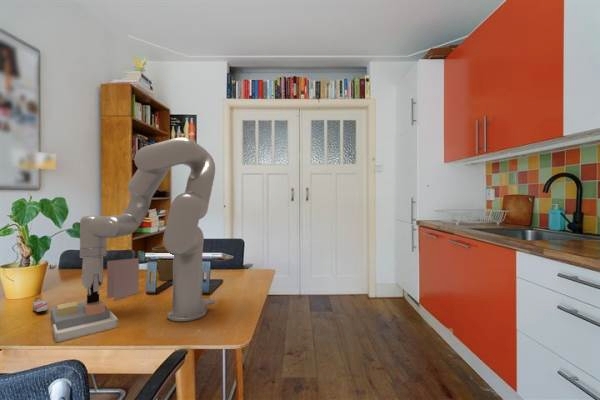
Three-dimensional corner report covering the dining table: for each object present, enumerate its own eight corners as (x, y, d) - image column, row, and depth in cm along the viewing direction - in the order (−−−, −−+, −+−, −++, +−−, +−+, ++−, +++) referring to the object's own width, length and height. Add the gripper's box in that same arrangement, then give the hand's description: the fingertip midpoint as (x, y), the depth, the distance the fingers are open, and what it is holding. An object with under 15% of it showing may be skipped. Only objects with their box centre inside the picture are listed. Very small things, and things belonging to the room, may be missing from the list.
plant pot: (188, 278, 151) (189, 247, 151) (158, 284, 140) (158, 250, 140) (177, 273, 161) (177, 244, 162) (148, 278, 151) (148, 247, 151)
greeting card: (138, 292, 128) (138, 257, 128) (140, 296, 122) (140, 260, 122) (106, 297, 122) (107, 260, 122) (107, 302, 116) (107, 263, 116)
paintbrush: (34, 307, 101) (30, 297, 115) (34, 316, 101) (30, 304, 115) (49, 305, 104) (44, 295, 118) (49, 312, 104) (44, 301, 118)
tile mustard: (75, 308, 100) (75, 301, 100) (77, 312, 97) (77, 305, 97) (56, 312, 97) (56, 305, 97) (58, 317, 93) (58, 309, 93)
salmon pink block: (101, 308, 101) (101, 300, 101) (105, 312, 97) (105, 304, 97) (83, 311, 97) (83, 304, 98) (86, 316, 94) (86, 308, 94)
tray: (111, 318, 99) (111, 311, 99) (117, 327, 93) (117, 319, 93) (53, 332, 89) (53, 324, 89) (55, 343, 82) (56, 334, 82)
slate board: (99, 307, 110) (99, 299, 110) (109, 319, 99) (109, 310, 99) (50, 317, 101) (50, 308, 101) (55, 332, 89) (55, 322, 89)
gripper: (76, 250, 104) (76, 303, 104) (83, 256, 93) (82, 315, 93) (102, 248, 109) (101, 298, 109) (111, 253, 98) (110, 309, 98)
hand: (93, 305), depth 101 cm, fingers closed
